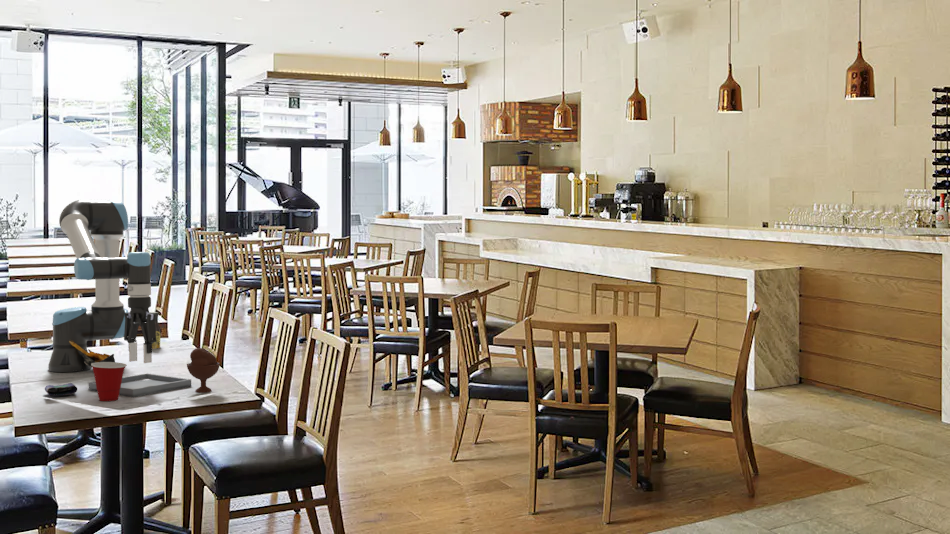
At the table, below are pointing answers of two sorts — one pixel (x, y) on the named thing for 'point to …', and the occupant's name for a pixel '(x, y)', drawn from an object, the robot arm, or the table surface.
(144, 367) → the table surface
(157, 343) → the sauce bottle
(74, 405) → the table surface
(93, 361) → the fried shrimp in bowl
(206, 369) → the ice cream bowl
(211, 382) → the table surface
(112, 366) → the plastic cup
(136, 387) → the tray
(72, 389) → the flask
